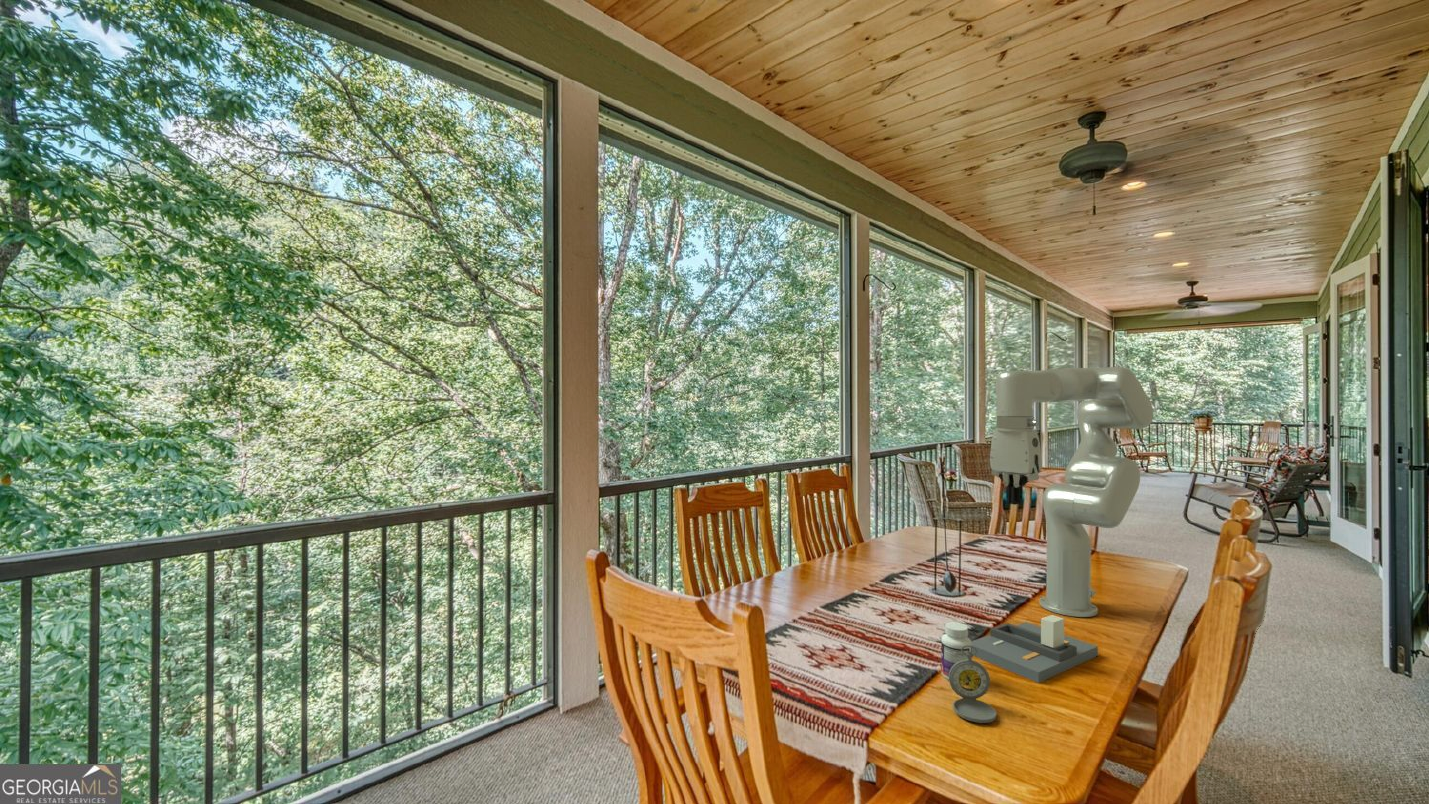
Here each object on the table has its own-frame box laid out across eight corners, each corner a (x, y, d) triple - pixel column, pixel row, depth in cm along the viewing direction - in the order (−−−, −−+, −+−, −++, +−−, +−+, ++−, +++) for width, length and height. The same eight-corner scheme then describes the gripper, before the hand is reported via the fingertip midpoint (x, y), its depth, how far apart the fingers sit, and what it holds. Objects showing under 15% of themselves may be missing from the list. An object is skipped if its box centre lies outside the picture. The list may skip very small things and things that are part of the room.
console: (1026, 630, 131) (1026, 615, 131) (1097, 655, 118) (1097, 639, 118) (966, 652, 120) (966, 635, 120) (1038, 683, 107) (1038, 664, 107)
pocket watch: (975, 729, 92) (976, 667, 92) (936, 703, 100) (936, 646, 100) (1012, 718, 95) (1012, 658, 95) (971, 694, 103) (971, 638, 103)
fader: (1050, 646, 118) (1050, 614, 118) (1065, 651, 115) (1065, 619, 115) (1039, 650, 116) (1039, 618, 116) (1054, 656, 113) (1054, 623, 113)
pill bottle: (948, 667, 113) (948, 618, 113) (976, 676, 109) (976, 626, 109) (936, 676, 109) (936, 625, 109) (964, 686, 105) (965, 634, 105)
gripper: (1056, 425, 128) (1056, 507, 128) (993, 422, 141) (993, 497, 141) (1038, 426, 124) (1037, 510, 124) (975, 423, 137) (974, 500, 137)
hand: (1014, 503), depth 133 cm, fingers closed
